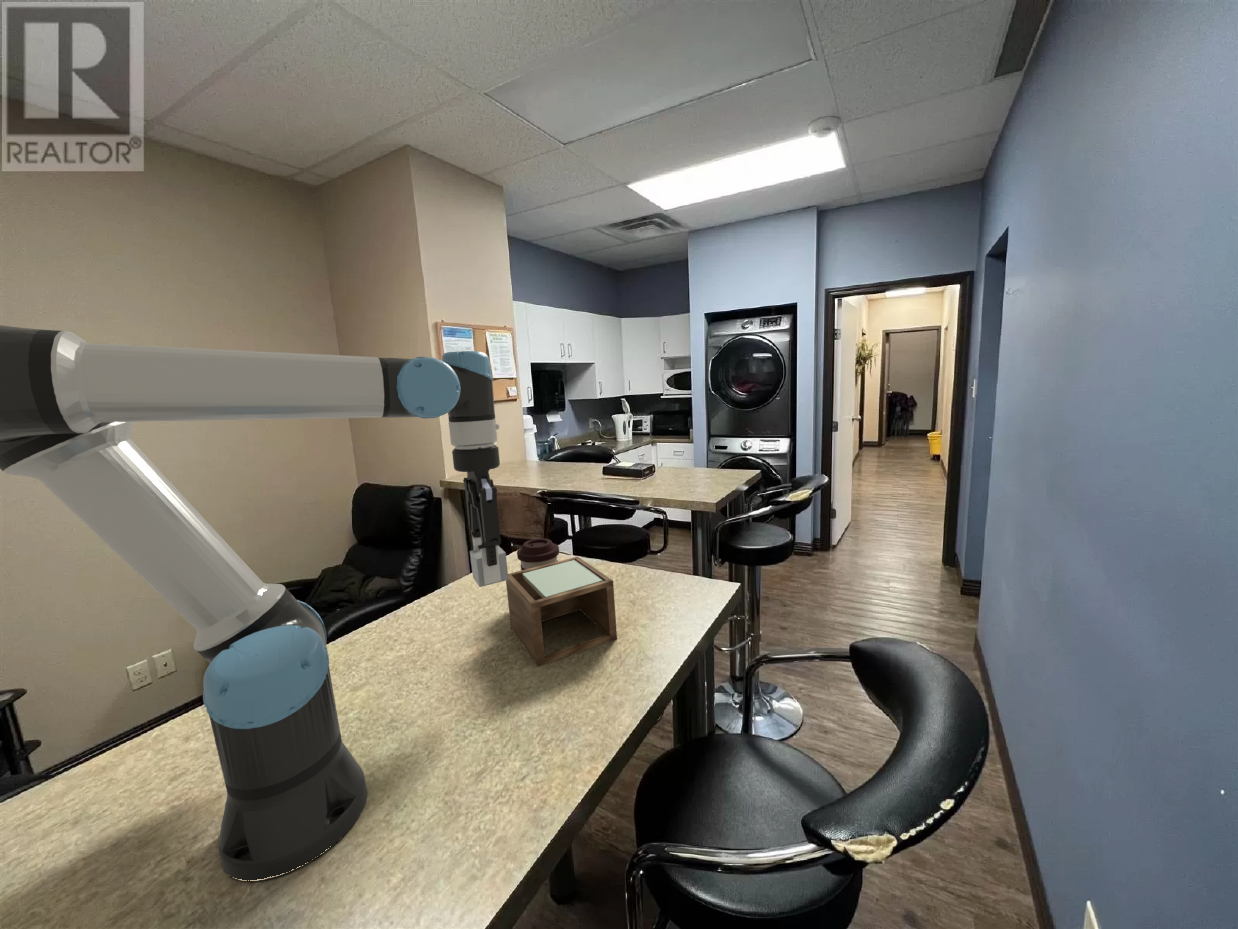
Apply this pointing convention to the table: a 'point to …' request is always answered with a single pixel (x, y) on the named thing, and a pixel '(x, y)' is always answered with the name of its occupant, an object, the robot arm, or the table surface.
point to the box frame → (559, 611)
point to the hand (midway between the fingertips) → (488, 576)
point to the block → (478, 569)
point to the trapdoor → (560, 578)
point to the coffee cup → (537, 553)
